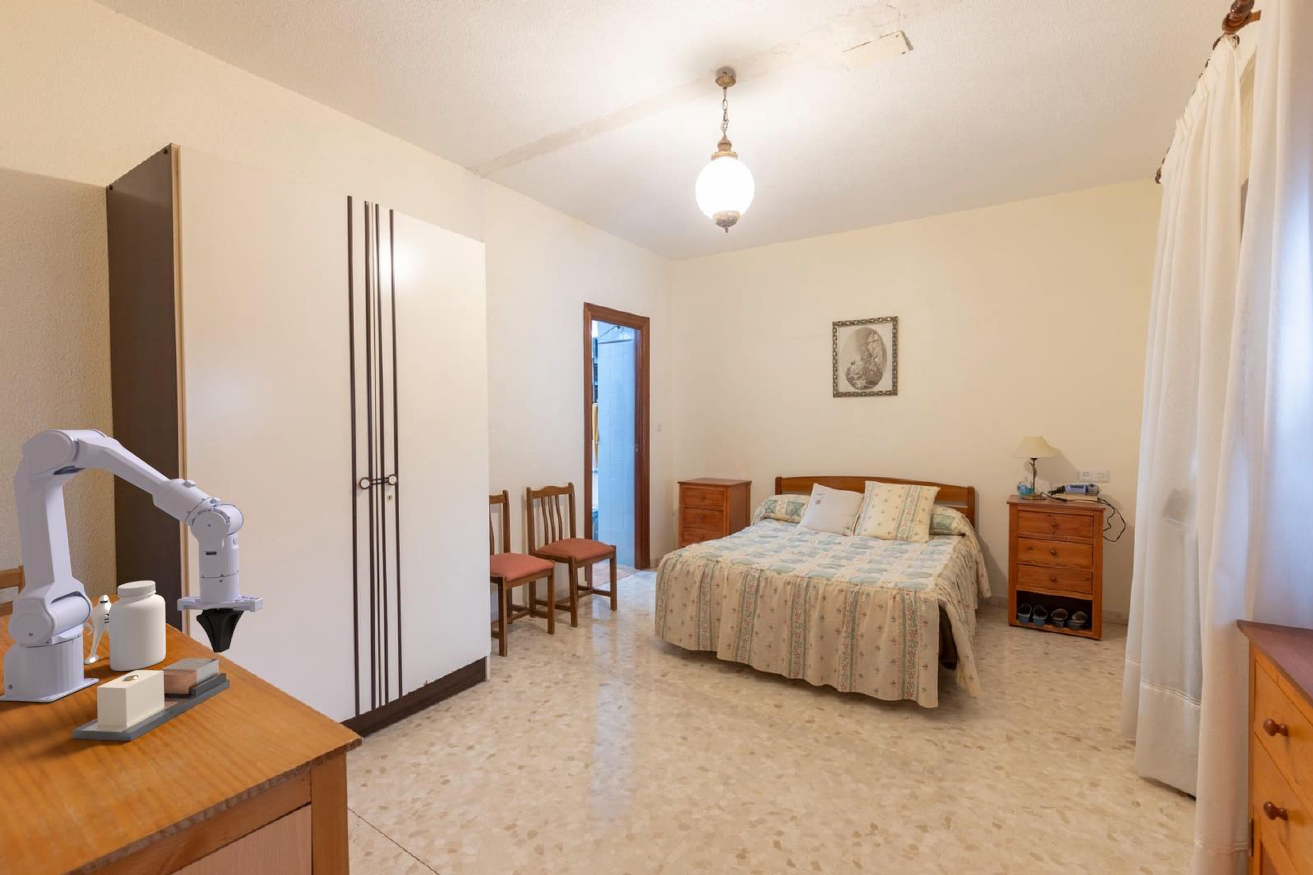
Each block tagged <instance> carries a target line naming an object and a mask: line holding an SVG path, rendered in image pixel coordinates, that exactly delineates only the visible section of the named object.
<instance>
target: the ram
mask: <svg viewBox="0 0 1313 875" xmlns="http://www.w3.org/2000/svg"><path fill="white" fill-rule="evenodd" d="M219 660H220V659H219V658H199V657H197V658H196V657H195V658H194V657H185V658H182V659H180V660H178V661H176V662H174V663H172V664H170V665H167V666H165V667H163V668H162V669H161V670H160V671H164V693H176V694H189V693H191V689H192V688H194V687H196V686H198V685H200V684H201V683H203V682H205V681H207V680H209V679H211V678H213V677H215V676H217V675H219V674H220V669H219V668H220V666H219V664H220V663H219V662H220V661H219Z"/></svg>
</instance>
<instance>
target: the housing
mask: <svg viewBox="0 0 1313 875" xmlns="http://www.w3.org/2000/svg"><path fill="white" fill-rule="evenodd" d="M96 698H97V700H96V701H97V702H96V705H97V718H98V725H116V726H128V725H130V724H131V723H133V722H135V721H137V720H139V719H141V718H143V717H145V716H147V715H149V714H150V713H152V712H154V711H156V710H158V709H160V708H162V707H164V671H161V670H147V669H136V670H132V671H131V672H128V673H126V674H124V675H121V676H119V677H117V678H115V679H112V680H111V681H108V682H106V683H103V684H101V685H99V686H97V687H96Z"/></svg>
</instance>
